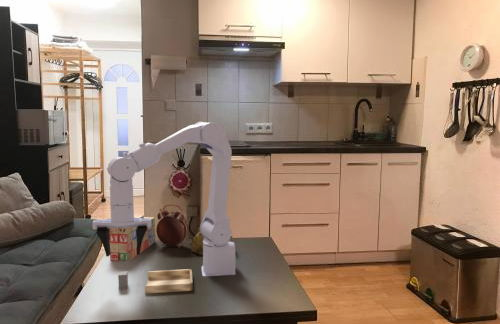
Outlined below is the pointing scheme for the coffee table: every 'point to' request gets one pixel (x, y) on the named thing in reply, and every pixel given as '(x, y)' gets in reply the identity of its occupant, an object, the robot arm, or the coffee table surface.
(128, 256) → the stack of blocks
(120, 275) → the cover plate
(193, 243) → the seashell
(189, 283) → the box
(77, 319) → the coffee table surface
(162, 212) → the alarm clock
